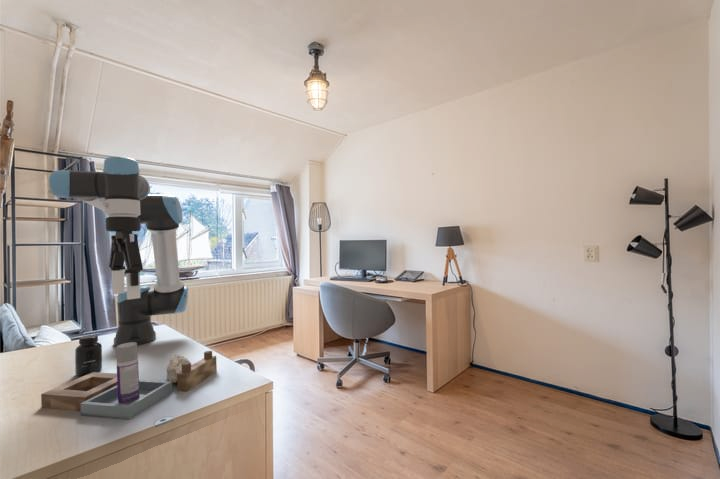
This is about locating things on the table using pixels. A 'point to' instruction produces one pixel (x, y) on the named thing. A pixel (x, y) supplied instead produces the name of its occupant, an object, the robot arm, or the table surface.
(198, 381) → the bar
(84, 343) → the supplement bottle
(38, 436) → the table surface
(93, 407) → the tray
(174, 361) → the stone
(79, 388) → the block
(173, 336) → the table surface
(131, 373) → the container
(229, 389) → the table surface
